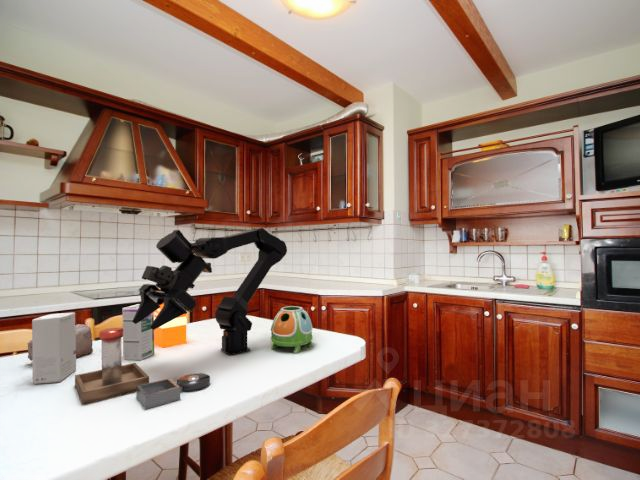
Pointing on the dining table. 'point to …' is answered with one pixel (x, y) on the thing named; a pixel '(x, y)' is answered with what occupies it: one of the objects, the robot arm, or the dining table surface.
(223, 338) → the robot arm
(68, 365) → the skincare box
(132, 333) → the syrup box
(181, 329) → the orange juice
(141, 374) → the tray
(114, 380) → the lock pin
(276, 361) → the dining table surface
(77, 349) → the food item
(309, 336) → the turtle holder
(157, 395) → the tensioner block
